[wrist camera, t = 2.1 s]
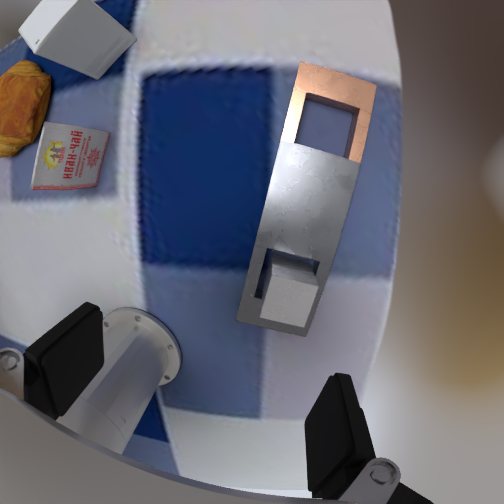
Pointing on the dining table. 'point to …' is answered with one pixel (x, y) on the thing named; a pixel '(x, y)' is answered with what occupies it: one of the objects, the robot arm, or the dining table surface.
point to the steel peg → (288, 289)
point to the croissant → (22, 105)
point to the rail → (309, 189)
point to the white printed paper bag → (68, 157)
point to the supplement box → (76, 35)
